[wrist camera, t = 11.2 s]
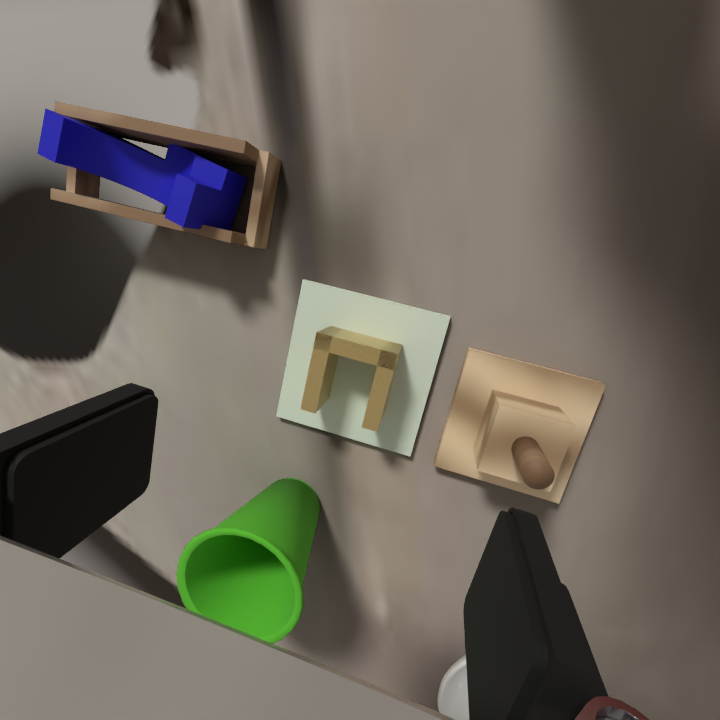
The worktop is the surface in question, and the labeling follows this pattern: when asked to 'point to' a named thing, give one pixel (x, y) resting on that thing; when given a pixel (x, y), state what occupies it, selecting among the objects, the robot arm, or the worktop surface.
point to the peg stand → (517, 424)
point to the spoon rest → (454, 692)
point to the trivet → (363, 365)
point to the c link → (357, 348)
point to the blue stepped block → (148, 171)
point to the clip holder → (86, 184)
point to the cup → (254, 562)
